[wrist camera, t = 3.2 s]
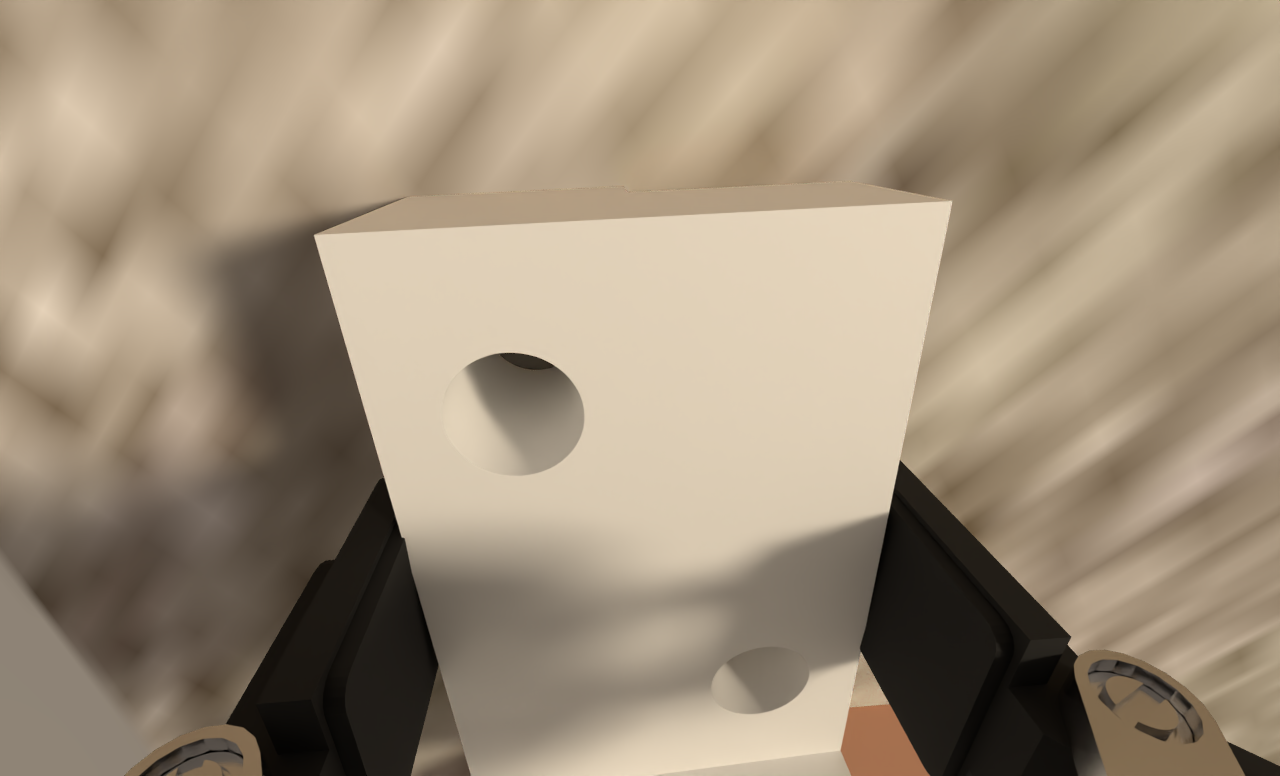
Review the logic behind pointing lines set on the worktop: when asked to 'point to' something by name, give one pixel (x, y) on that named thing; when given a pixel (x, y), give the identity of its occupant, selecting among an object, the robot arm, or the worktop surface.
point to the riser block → (878, 744)
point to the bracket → (642, 457)
